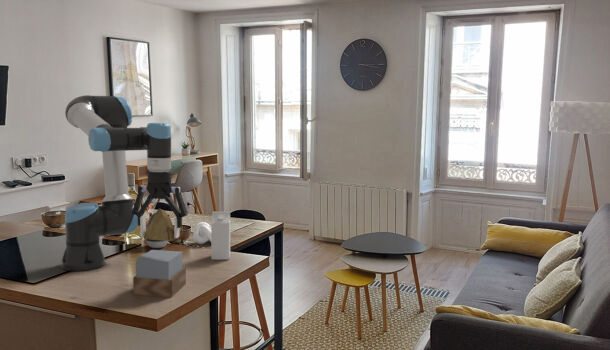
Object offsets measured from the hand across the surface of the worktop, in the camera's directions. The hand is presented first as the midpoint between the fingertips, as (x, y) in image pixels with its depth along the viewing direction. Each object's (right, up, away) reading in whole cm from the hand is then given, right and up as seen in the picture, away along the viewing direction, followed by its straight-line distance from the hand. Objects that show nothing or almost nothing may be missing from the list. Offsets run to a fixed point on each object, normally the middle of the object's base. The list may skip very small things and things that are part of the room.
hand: (160, 236), depth 174 cm
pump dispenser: (-16, -11, +55) cm, 58 cm away
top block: (0, -12, +1) cm, 12 cm away
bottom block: (0, -18, +2) cm, 18 cm away
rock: (0, -1, 0) cm, 1 cm away
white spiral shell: (+3, -10, +64) cm, 65 cm away
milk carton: (+14, -13, +41) cm, 45 cm away
